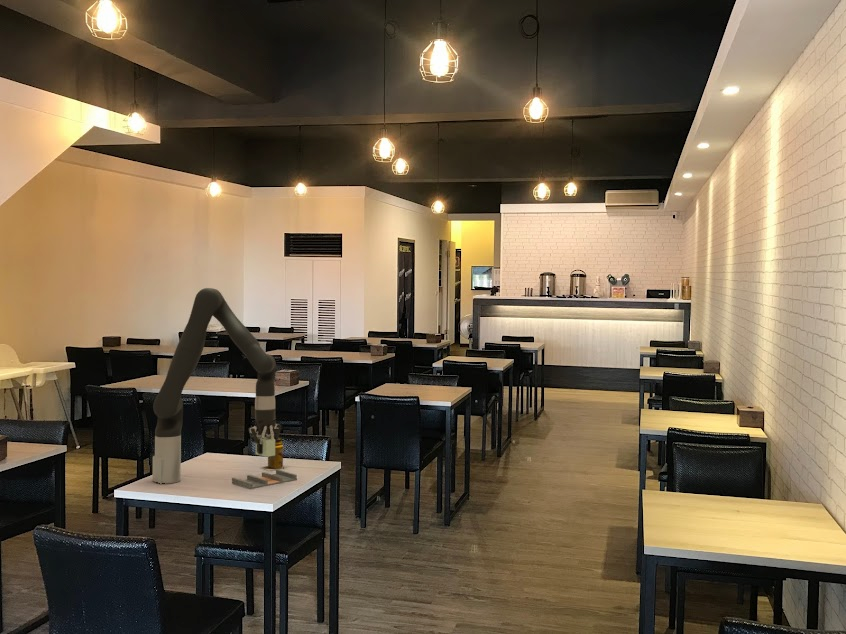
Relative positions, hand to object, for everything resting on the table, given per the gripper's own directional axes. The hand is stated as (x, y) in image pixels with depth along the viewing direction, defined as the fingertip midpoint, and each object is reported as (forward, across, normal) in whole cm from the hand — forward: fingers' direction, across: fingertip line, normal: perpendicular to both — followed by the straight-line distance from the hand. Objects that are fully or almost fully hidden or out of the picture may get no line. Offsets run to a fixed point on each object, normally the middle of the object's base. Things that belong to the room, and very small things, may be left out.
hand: (265, 452), depth 290 cm
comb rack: (+11, 0, 0) cm, 11 cm away
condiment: (+11, -16, -17) cm, 26 cm away
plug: (+1, 0, 0) cm, 1 cm away
